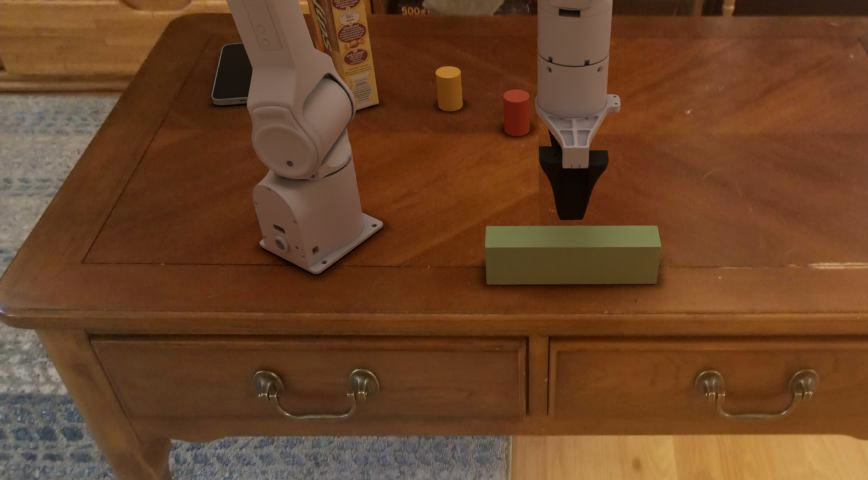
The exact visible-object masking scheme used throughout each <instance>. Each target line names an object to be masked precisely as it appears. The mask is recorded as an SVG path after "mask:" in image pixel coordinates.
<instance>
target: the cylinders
mask: <svg viewBox="0 0 868 480" xmlns="http://www.w3.org/2000/svg"><path fill="white" fill-rule="evenodd" d="M435 82H436V83H435V84H436V95H437V106H438V109H440V110H441V111H443V112H456V111H459V110H461V109H462V107H463V106H464V103H463V85H462V71H461V69H460V68H459V67H456V66H451V65H446V66H440V67H439V68H437V69H436V70H435ZM502 98H503V99H502V100H503V103H502V104H503V130H504V133H505V134H506V135H509V136H511V137H523V136H526V135H527V134H528V133H530V125H531V124H530V122H531V121H530V118H531V117H530V107H531V105H530V100H531V99H530V94H529V92H528V91H526V90H522V89H519V88H517V89H516V88H515V89H510V90H507V91H506V92H504V93H503V95H502Z"/></svg>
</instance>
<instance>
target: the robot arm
mask: <svg viewBox="0 0 868 480" xmlns="http://www.w3.org/2000/svg"><path fill="white" fill-rule="evenodd" d="M225 1H226V4H227V6H228V9H229V12H230V13H231V16H232V19H233V21H234V24H235V27H236V28H237V32H238V35H239V37H240V39H241V43H243V45H244V47H245V50H246V52H247V55H248V57H249V60H250V62H251V65H252V68H253V71H252V78H251V84H250V89H249V95H248V100H247V103H246V109H247V112H248V114H249V116H250V119H251V124H252V131H251V144H252V148H253V150H254V152H255V154H256V156H257V158H258V159H259V160H260V162H261V163H262V164H263V165H264V166H265V167H266V168H268V172H267V173H266V175H265V176H264V177H263V178H262V179H261V180H260V181H259V182H258V183H257V184H256V185H255V186H254V187H253V189H252V193H251V196H252V197H251V198H252V203H253V207H254V210H255V214H256V218H257V221H258V225H259V228H260V232H261V236H262V239H261V240H260V241H259V246H260V248H262V249H264V250H266V251H267V252H270V253H272V254H274V255H276V256H278V257H280V258H282V259H284V260H286V261H288V262H290V263H291V264H294V265H296V266H298V267H300V268H302V269H303V270H305V271H307V272H309V273H311V274H313V275H320V274H321V273H323V272H324V271H325V270H326V269H328V268H330V267H331V266H332V265H333V264H335V263H336V262H338V261H339V260H340V259H342V258H343V257H344V256H345V255H347V254H349V253H350V252H351V251H352V250H354V249H355V248H356V247H358V246H359V245H361V244H362V243H363V242H365V241H366V240H368V239H369V238H370V237H372V235H374V234H376V232H378V231H380V230H381V229H382V228H383V227H384V223H383V221H382V220H381V219H378V218H375V217H373V216H371V215H369V214H366V213H364V212H363V211H362V210H363V209H362V204H361V198H360V192H359V186H358V181H357V175H356V168H355V163H354V156H353V151H352V146H351V143H350V138H349V133H348V126H349V125H350V124H351V123H352V121H353V120H354V119H355V116H356V112H357V110H356V104H355V99H354V96H353V94H352V92H351V90H350V89H349V87H348V86H347V85H346V84H345V82H344V81H343V80H342V79H341V78H340V76H339V75H338V73H337V71H336V69H335V67H334V64H333V61H332V58H331V57H330V56H328V55H327V54H325V53H323V52H321V51H319V50H317V48H315V46H314V43H313V40H312V37H311V34H310V31H309V28H308V24H307V22H306V20H305V17H304V14H303V10H302V6H301V5H300V1H299V0H225ZM613 1H614V0H537V93H536V96H535V100H534V110H535V112H536V114H537V116H538V117H539V118H540V120H541V122H542V123H543V124H544V126H545V127H546V128H547V130H548V135H549V139H550V144H551V145H540V146H538V162H539V165H540V168H541V170H542V171H543V173H544V175H545V176H546V177H547V179H548V181H549V184H550V186H551V189H552V194H553V200H554V205H555V210H556V214H557V216H558V217H557V218H558V219H559V220H560V221H582V220H583V219H584V217H585V215H586V212H587V209H588V206H589V202H590V199H591V196H592V194H593V190H594V188H595V185H596V184H597V182H598V180H599V179H600V177H601V176H602V175H603V174H604V172H605V171H606V170H607V168H608V166H609V162H610V158H609V157H610V156H609V151H608V150H607V149H590V145H591V143H592V142H593V139H594V138H595V136H596V134H597V132H598V131H599V129H600V128H601V125H602V123H603V122H604V120H605V118H606V116H608V115H609V114H619V113H620V112H621V106H622V105H621V104H622V103H621V98H620V96H619V94H614V93H612V94H611V93H610V94H609V93H608V79H609V63H610V51H611V37H612V36H611V33H612V21H613V20H612V19H613V17H612V16H613Z"/></svg>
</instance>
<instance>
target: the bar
mask: <svg viewBox="0 0 868 480" xmlns="http://www.w3.org/2000/svg"><path fill="white" fill-rule="evenodd" d="M661 252H662V243H661V237H660V233H659V227H658V225H486V226H485V237H484V257H485V258H484V259H485V260H484V261H485V276H486V277H485V279H486V285H487V286H488V285H489V286H493V285H494V286H495V285H496V286H497V285H498V286H502V285H505V286H506V285H508V286H510V285H511V286H513V285H518V286H519V285H520V286H521V285H656V284H657V282H658V275H659V269H660V262H661V261H660V260H661V254H662V253H661Z"/></svg>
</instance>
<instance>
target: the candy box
mask: <svg viewBox="0 0 868 480" xmlns="http://www.w3.org/2000/svg"><path fill="white" fill-rule="evenodd" d="M306 1H307V7H308V12H309V16H310V22H311V26H312V31H313V32H312V33H313V36H314V42H315V46H316V49H317V50H319V51H321V52H323V53H325V54H327V55H328V56H330V57H331V58H332V61H333V64H334V67H335V69H336V71H337V73H338V75H339V76H340V78H341V79H342V80H343V81H344V82H345V84H346V85H347V86H348V87H349V89H350V90H351V92H352V94H353V96H354V99H355V104H356V111H359V110H362V109H365V108H366V109H367V108H369V107H372V106H376V105H379V103H380V99H379V94H378V93H379V92H378V87H377V81H376V80H377V79H376V73H375V66H374V59H373V53H372V47H371V40H370V33H369V32H370V31H369V27H368V25H369V24H368V19H367V18H368V17H367V12H366V5H365V0H306Z"/></svg>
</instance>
